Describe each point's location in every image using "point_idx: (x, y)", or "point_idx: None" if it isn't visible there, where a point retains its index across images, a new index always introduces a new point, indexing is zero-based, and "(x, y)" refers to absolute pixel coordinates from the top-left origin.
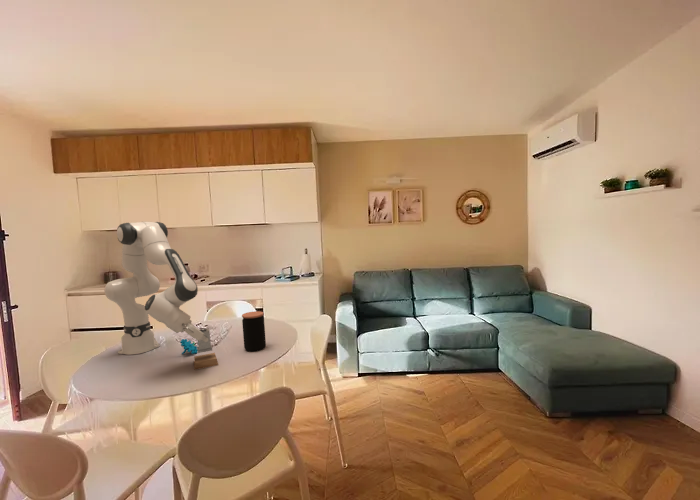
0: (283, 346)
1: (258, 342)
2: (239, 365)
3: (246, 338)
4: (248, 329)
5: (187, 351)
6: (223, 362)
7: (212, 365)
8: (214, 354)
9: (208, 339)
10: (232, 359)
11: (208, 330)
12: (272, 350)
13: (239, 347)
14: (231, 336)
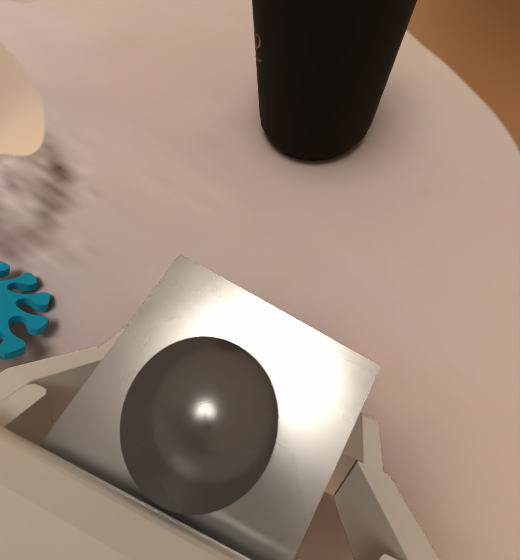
0: (413, 57)
1: (382, 91)
2: (471, 306)
3: (334, 96)
4: (378, 11)
5: (8, 358)
6: (338, 319)
7: None
8: None
9: (377, 422)
10: (343, 265)
11: (331, 358)
12: (415, 104)
13: (219, 145)
14: (52, 79)
